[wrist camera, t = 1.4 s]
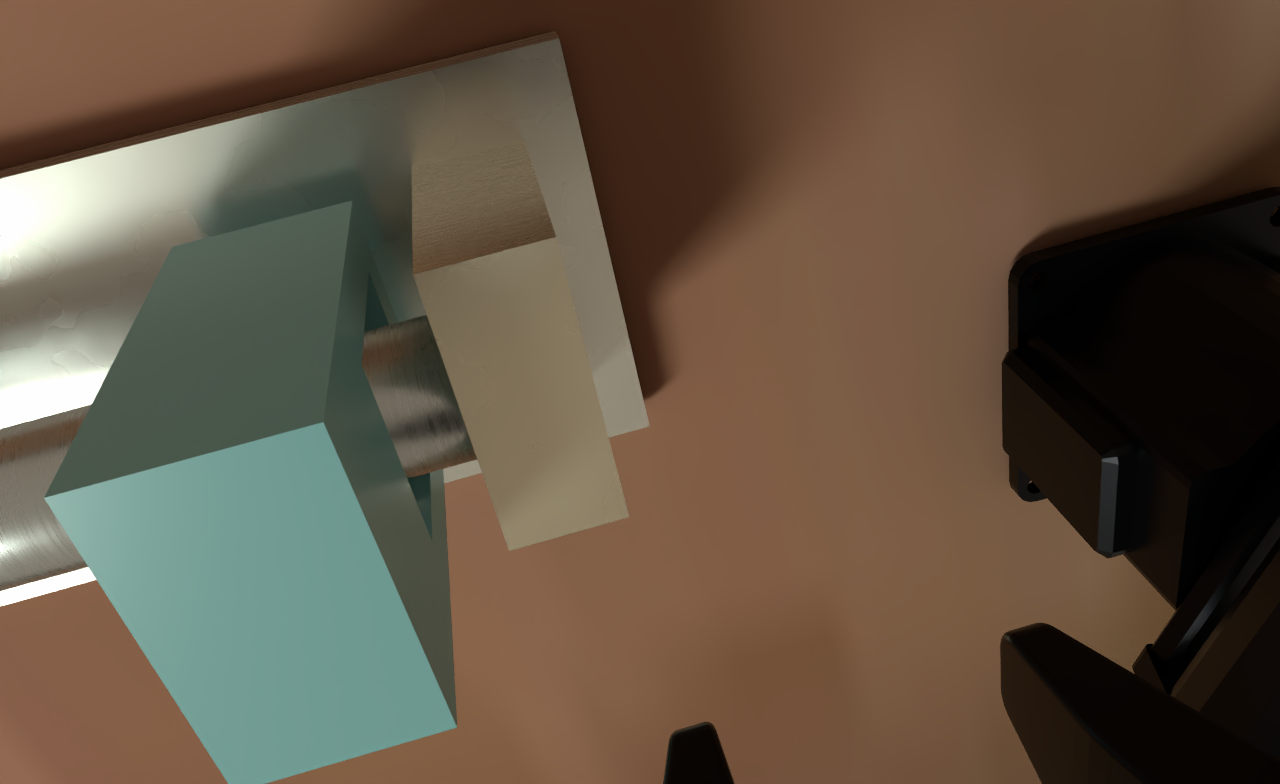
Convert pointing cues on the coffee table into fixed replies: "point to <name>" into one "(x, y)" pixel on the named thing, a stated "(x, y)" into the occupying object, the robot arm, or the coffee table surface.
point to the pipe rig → (407, 263)
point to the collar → (267, 505)
